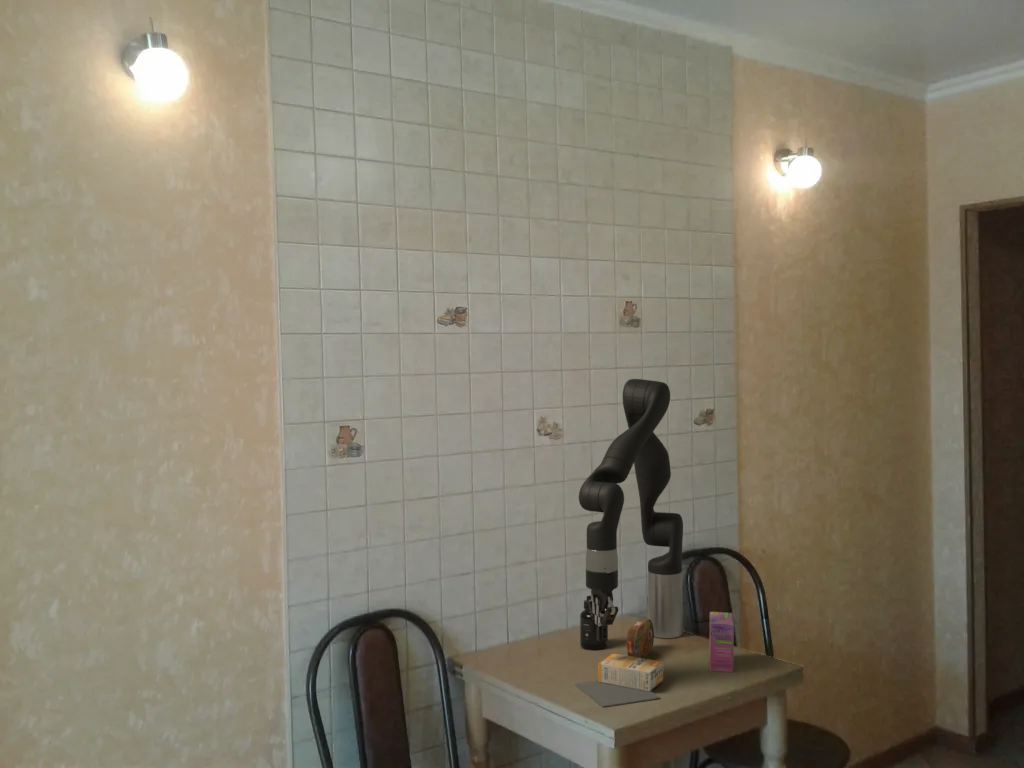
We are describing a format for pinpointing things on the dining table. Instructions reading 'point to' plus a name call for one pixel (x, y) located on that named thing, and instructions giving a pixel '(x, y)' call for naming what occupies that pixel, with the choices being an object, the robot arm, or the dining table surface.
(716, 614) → the box
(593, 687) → the mat
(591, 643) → the supplement bottle
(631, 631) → the tin
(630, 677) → the supplement box
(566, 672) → the dining table surface
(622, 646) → the dining table surface
